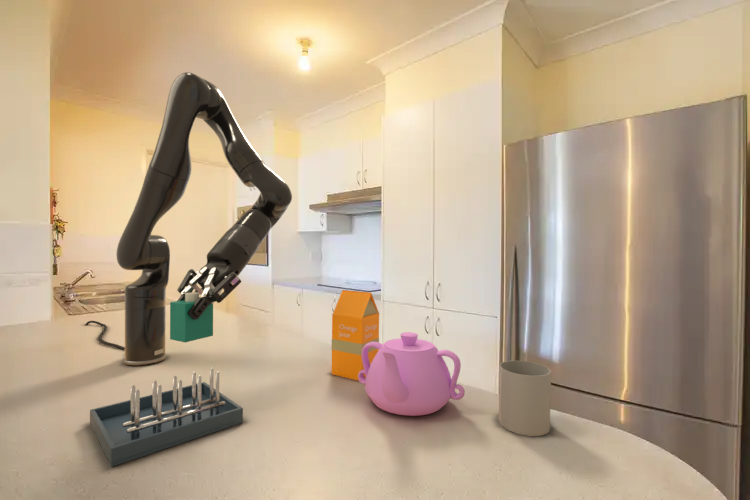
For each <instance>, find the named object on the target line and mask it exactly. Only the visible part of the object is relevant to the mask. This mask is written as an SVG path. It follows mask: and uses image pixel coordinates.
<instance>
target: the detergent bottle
mask: <svg viewBox="0 0 750 500" xmlns="http://www.w3.org/2000/svg"><path fill="white" fill-rule="evenodd" d="M199 297H200V295H199V293H197V292H195V291H192V293H185V300H182V301H177V300H175V301H170V302H169V340H171V341H176V342H181V343H189V342H193V341H197V340H201V339H205V338H209V337H213V336H214V303H213V304H211V305H208V307H207V308H206V309H205V310H204V312H203V313H202V315H201V316H200V317H199V318H198V319H197V320H195V319H192V318H191V317H190V316H189V315H188V314H187V313H188V311H189V309H190V308H191V307H192V306H193V304H194V303H195V302H196V301H197V299H198V298H199Z"/></svg>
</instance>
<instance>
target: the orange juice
mask: <svg viewBox="0 0 750 500" xmlns="http://www.w3.org/2000/svg"><path fill="white" fill-rule="evenodd" d="M370 342H379V343H380V311H379V309H378V306H377V304H376V302H375V299H374V296H373V294H372V292H368V291H359V290H348V289H342V290H341V293H340V295H339V297H338V300H337V302H336V305H335V307H334V309H333V312H332V313H331V375H334V376H337V377H342V378H346V379H349V380H355V381H358V382H360V381H359V380H358V374H359V372H360V371H361V370H364V367H363V363H362V356H361V353H362V349H363V347H364V346H365V345H366V344H368V343H370ZM378 351H379V349H377V348H374V347H370V348H369V349H368V358H369V363H370V365H371V363H372V361H373V359H374V357H375V356H376V354H377V353H378ZM363 376H364V377H365V378H366V375H365V374H363Z"/></svg>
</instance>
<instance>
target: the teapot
mask: <svg viewBox="0 0 750 500" xmlns="http://www.w3.org/2000/svg"><path fill="white" fill-rule="evenodd" d="M399 334H400V338H393V339H388V340H386V341H385V342H384V343H381V342H380V341H379V342H370V343H368V344H366V345H365V346H364V347H363V349H362V353H361V356H362V363H363V367H364V370H361V371H360V372H359V374H358V380H359V381H358V380H357V381H358V382H359V383H360V384H362V385H365V387H364V388H365V393H366V395H367V396H368V398H369V399H370V400H371V401H372V402H373V403H374V405H375V406H376V407H377V408H379V409H380V410H382V411H385V412H387V413H390V414H395V415H400V416H412V417H413V416H414V417H415V416H424V415H430V414H434V413H435V412H438V411H440V410H441V409H442V408H443V407H444V406H446V404H447V403H448V402H449V401H450V399H452V400H454V401H457V400H461V399H463V398H464V397H465V392H466V391H465V388H464V386H463V385H462V384H458V380H459V376H460V372H461V367H462V364H461V360H460V357H459V356H458V355H457V354H456V353H455V352H454V351H451V350H449V349H441V350H439V349H438V348H437V346H436V345H435V344H434V343H432V341H428V340H425V339H420V338H418V337H419V334H418V333H416V332H411V331H410V332H409V331H407V332H406V331H405V332H402V333H399ZM370 347H374V348H377V349H379V351H378V353H377V354H376V356H375V357H374V359H373V361H372V363H371V365H370V363H369V358H368V349H369V348H370ZM444 357H448V358H450V359H451V360H452V361H453V365H454V368H453V373H452V377H451V372H450V370H449V367H448V365H447V363H446V362H445V361H446V360H444ZM363 374H365V375H366V378H365V377H364V376H363ZM456 390H458V392H459V393H457V392H456Z"/></svg>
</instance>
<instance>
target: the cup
mask: <svg viewBox="0 0 750 500" xmlns="http://www.w3.org/2000/svg"><path fill="white" fill-rule="evenodd" d="M498 369H499V371H498V373H499V376H498V379H499V380H498V422H499V425H500V426H501V427H502V428H504V429H506V430H507V431H508V432H512V433H515V434H517V435H521V436H526V437H527V436H528V437H539V436H540V437H541V436H544V435H547V434H549V432H550V430H551V398H552V397H551V396H552V395H551V393H552V370H551V369H550V368H549V367H548V366H546V365H544V364H542V363H541V364H540V363H537V362H532V361H527V360H506V361H502V362H501V363H500V364H499V368H498Z"/></svg>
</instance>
